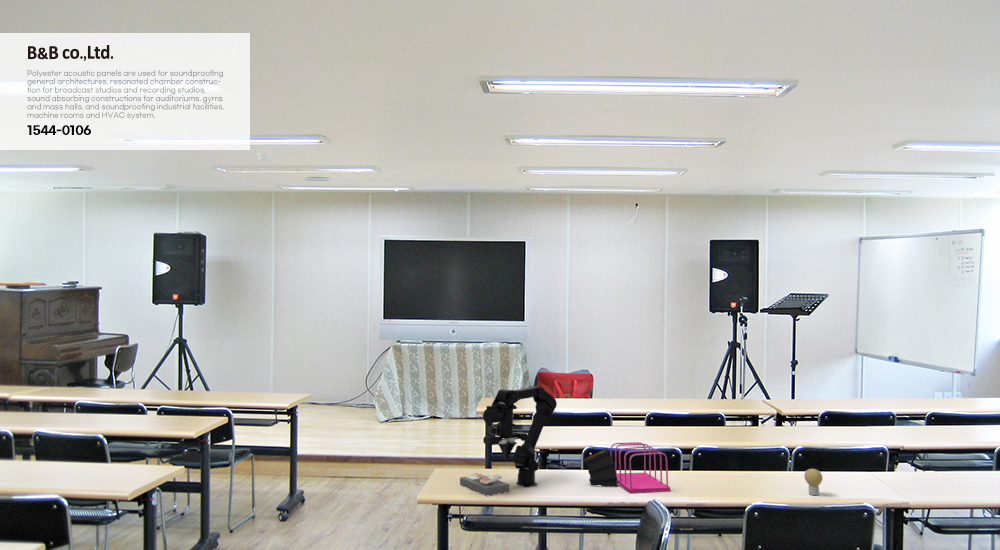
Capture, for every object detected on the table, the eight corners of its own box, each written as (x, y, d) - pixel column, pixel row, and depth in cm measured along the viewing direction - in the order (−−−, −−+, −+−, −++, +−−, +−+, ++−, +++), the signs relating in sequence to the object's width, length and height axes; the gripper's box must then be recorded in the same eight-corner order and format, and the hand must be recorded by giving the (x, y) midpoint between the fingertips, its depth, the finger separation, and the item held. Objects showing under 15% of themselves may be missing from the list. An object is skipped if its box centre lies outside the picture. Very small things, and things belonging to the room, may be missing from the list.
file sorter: (629, 493, 247) (629, 453, 248) (608, 477, 272) (608, 441, 273) (670, 491, 250) (670, 452, 251) (646, 476, 275) (645, 440, 276)
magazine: (624, 483, 256) (608, 449, 258) (595, 496, 257) (579, 462, 258) (623, 480, 260) (607, 447, 261) (595, 493, 260) (579, 460, 262)
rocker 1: (487, 476, 258) (488, 474, 259) (493, 479, 255) (493, 476, 255) (471, 475, 254) (472, 472, 254) (477, 477, 251) (477, 474, 251)
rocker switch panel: (482, 481, 265) (482, 471, 265) (509, 491, 248) (509, 482, 249) (460, 484, 259) (460, 475, 259) (486, 496, 242) (486, 486, 242)
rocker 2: (496, 476, 254) (496, 473, 254) (501, 478, 250) (501, 476, 250) (480, 482, 249) (479, 479, 249) (485, 484, 246) (485, 481, 246)
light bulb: (802, 494, 246) (801, 468, 247) (808, 491, 251) (807, 466, 251) (819, 497, 242) (818, 471, 242) (825, 494, 246) (824, 469, 247)
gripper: (513, 416, 265) (513, 453, 264) (476, 420, 254) (475, 458, 253) (528, 419, 256) (528, 458, 255) (491, 424, 245) (490, 464, 244)
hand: (505, 459), depth 252 cm, fingers closed
